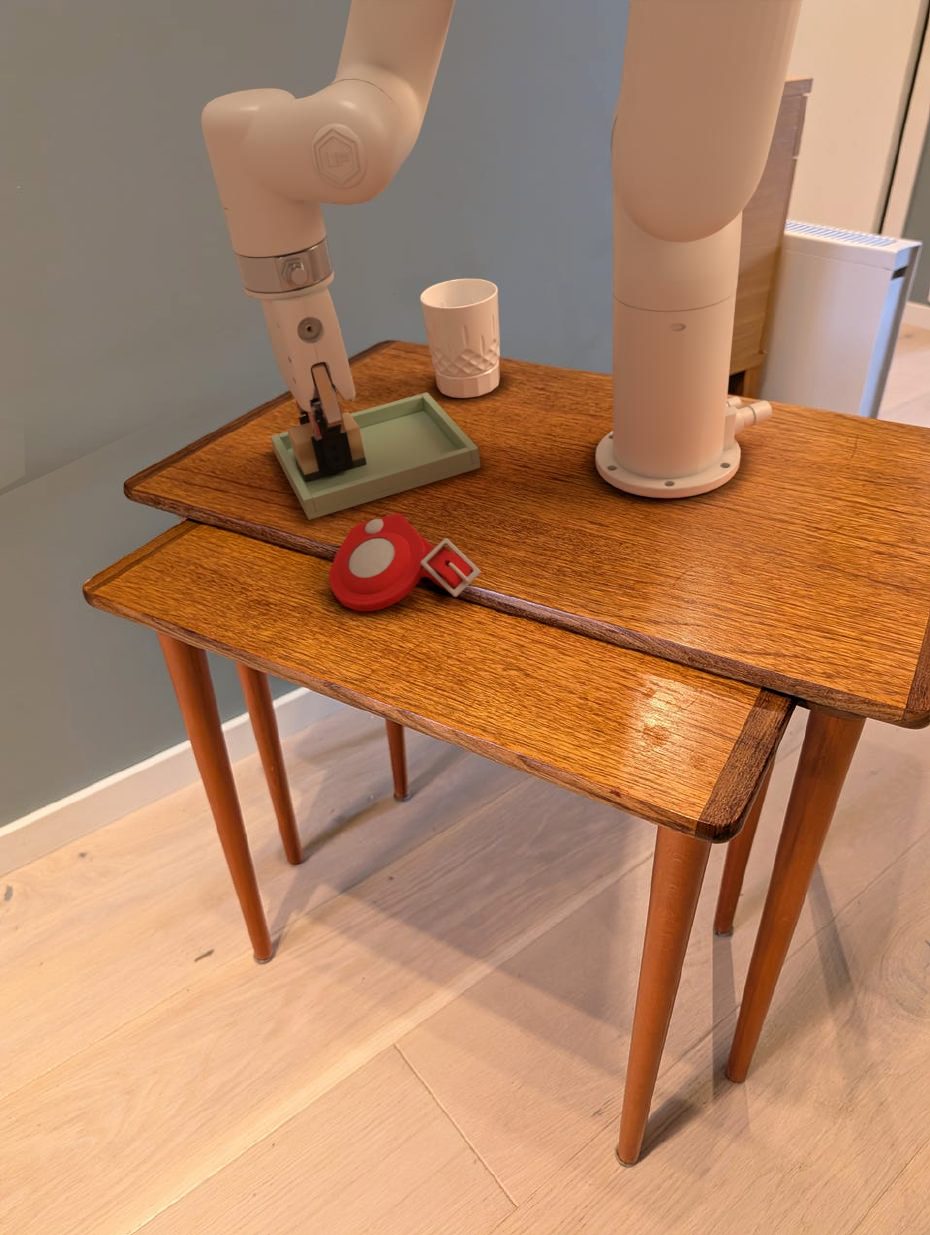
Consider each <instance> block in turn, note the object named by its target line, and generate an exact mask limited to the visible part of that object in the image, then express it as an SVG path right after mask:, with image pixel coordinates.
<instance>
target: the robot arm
mask: <svg viewBox="0 0 930 1235" xmlns="http://www.w3.org/2000/svg"><path fill="white" fill-rule="evenodd" d="M455 3H456V0H351V2H350V9H349V14H348V20H347V25H346V30H345V34H344V38H343V44H342V48H341V53H340V58H339V61H338V65H337V70H336V75H335V78H334V80H333V81H332V82H330V83H329V84H328V85H327V86H326V87H324V88H323V89H320V90H318V91H317V92H315V93H314V94H312V95H309V96H305V97H301V98H296V97H295V96H294V95H293V94H292V93H290V92H289V91H287V90H285V89H280V88H275V87H274V88H273V87H272V88H271V87H270V88H269V87H268V88H255V89H254V88H253V89H246V90H245V89H244V90H240V91H235V92H231V93H227V94H224V95H221V96H218V97H216V98H214V99H212V100H210V101H209V102H207V104H206V105H205V106H204V107H203V109H202V112H201V119H200V122H201V124H200V125H201V130H202V134H203V139H204V142H205V147H206V150H207V155H208V158H209V160H210V161H209V162H210V166H211V169H212V174H213V177H214V182H215V185H216V189H217V192H218V196H219V200H220V204H221V207H222V208H221V209H222V211H223V215H224V218H225V223H226V226H227V231H228V233H229V234H228V235H229V237H230V241H231V246H232V250H233V252H234V257H235V260H236V264H237V269H238V272H239V276H240V280H241V283H242V286H243V291H244V293H245V295H246V296H248V297H250V298H252V299H256V300H259V301H260V303H261V304H260V305H261V307H262V308H261V309H262V313H263V317H264V320H265V324H266V329H267V332H268V336H269V340H270V344H271V347H272V351H273V355H274V358H275V361H276V364H277V368H278V370H279V373H280V376H281V378H282V380H283V382H284V384H285V385H286V387H287V388H288V390H289V392H290V393H291V395H292V397H293V398H294V400H295V404H296V407H297V411H298V413H299V415H300V416H299V417H298V420H299V424H300V425H303V424H306V423H311V427H312V430H313V434H314V436H313V437H311V440H312V444H313V448H314V452H315V456H316V461H317V465H318V469H319V472H320V474H321V476H323V477H326V476H330V475H333V474H336V473H340V472H343V471H347V470H350V469H352V468H353V466H354V464H353V460H352V455H351V450H350V445H349V441H348V436H347V431H346V429H345V425H344V421H343V417H342V413H343V412H342V409H341V405H340V401H339V397H338V394H337V392H338V393H339V394H340V396H341V397H342V399H343V400H344V401H345V402H347V401H350V402H353V401H354V400H355V398H356V396H357V392H356V388H355V384H354V379H353V375H352V372H351V366H350V364H349V359H348V354H347V351H346V346H345V342H344V338H343V334H342V330H341V327H340V322H339V319H338V316H337V313H336V312H337V311H336V309H335V306H334V302H333V299H332V296H331V293H330V291H329V288H328V285H330V284H331V283H332V282H333V281H334V279H335V271H334V266H333V261H332V254H331V250H330V246H329V241H328V236H327V230H326V225H325V221H324V215H323V211H322V205H321V203H322V204H329V205H331V204H332V205H344V206H349V205H350V206H351V205H352V206H353V205H360V204H364V203H366V202H369V201H371V200H374V199H375V198H376V197H378V196H380V195H381V194H382V193H383V192H384V191H385V190H386V189H387V188H388V187H389V185H390V184H391V182H392V181H393V180H394V178H395V176H396V175H397V174H398V172H399V171H400V168H401V167H402V165H403V164H404V163H405V161H406V160H407V159H408V157H409V156H410V155H411V153H412V151H413V149H414V148H415V145H416V143H417V140H418V138H419V135H420V132H421V128H422V126H423V122H424V119H425V116H426V112H427V109H428V105H429V101H430V97H431V95H432V91H433V87H434V83H435V80H436V76H437V72H438V70H439V66H440V63H441V59H442V55H443V51H444V47H445V45H446V44H445V43H446V39H447V36H448V32H449V28H450V23H451V19H452V14H453V11H454V7H455ZM802 4H803V0H629V6H628V15H627V25H626V32H625V33H626V34H625V42H624V51H623V60H622V69H621V70H622V71H621V78H620V89H619V97H618V99H617V101H616V105H615V108H614V112H613V115H612V121H611V128H610V129H611V130H610V159H611V160H610V167H611V180H612V181H611V182H612V188H611V189H612V190H611V192H612V194H611V195H612V196H611V198H612V431H610V432H609V433H607V434H606V435H605V436H603V438H602V439H601V440H600V441H599V442H598V444H597V446H596V448H595V466H596V467H595V468H596V470H597V472H598V474H599V475H600V477H602V479H603V480H604V481H606V482H607V483H608V484H610V485H612V486H613V487H615V488H617V489H619V490H621V491H623V492H625V493H629V494H632V495H636V496H640V497H647V498H653V499H680V498H687V497H694V496H697V495H702V494H705V493H708V492H711V491H713V490H715V489H718V488H719V487H721V486H723V485H724V484H726V483H728V482H729V481H730V480H731V479H732V478H733V477H734V476H736V473H737V472H738V470H739V468H740V463H741V455H742V454H741V452H742V451H741V447H740V445H739V442H738V441H737V439H735V436H737V435H741V433H742V432H743V430H744V429H746V428H749V427H750V428H751V427H754V426H757V425H760V424H764V423H766V422H770V421H771V420H772V418H773V407H772V406H771V404H770V402H768V401H767V400H759V401H756V402H752V403H750V404H747V405H745V406H744V407H743V402H742V400H741V398H740V397H739V396H737V395H735V396H732V397H728V394H729V382H730V369H731V357H732V348H733V347H732V345H733V336H734V335H733V334H734V324H735V323H734V322H735V321H734V320H735V310H736V300H737V289H738V282H739V271H740V259H741V258H740V257H741V246H742V245H741V243H742V230H743V229H742V227H743V226H742V225H743V210H744V209H745V208H746V207H747V205H748V204H749V202H750V201H751V199H752V197H753V196H754V194H755V193H756V190H757V189H758V186H759V184H760V182H761V179H762V177H763V174H764V172H765V168H766V165H767V161H768V157H769V155H770V154H769V153H770V150H771V146H772V143H773V138H774V134H775V129H776V124H777V120H778V115H779V111H780V106H781V102H782V99H783V98H782V97H783V93H784V88H785V84H786V79H787V75H788V69H789V67H790V66H789V65H790V60H791V56H792V51H793V47H794V42H795V37H796V33H797V28H798V23H799V19H800V14H801V9H802ZM318 420H319V422H318Z"/></svg>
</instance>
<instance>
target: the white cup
mask: <svg viewBox="0 0 930 1235" xmlns="http://www.w3.org/2000/svg"><path fill="white" fill-rule="evenodd" d="M419 301H420V306H421V307H420V308H421V312H422V317H423V322H424V323H423V324H424V327H425V333H426V340H427V345H428V349H429V352H430V358H431V362H432V366H433V369H434V374H435V376H434V377H435V379H436V380H435V381H436V387H437V389H438V390H439V392H440V393H441V394H442V395H445V396H447V397H450V398H455V399H456V398H457V399H470V398H476V397H481V396H484V395H487V394H489V393H491V392H492V391H494V390H495V389H496V388H498V386H499V384H500V379H501V373H500V370H501V369H500V358H501V352H500V348H501V343H500V342H501V341H500V339H501V337H500V335H501V334H500V316H499V315H500V313H499V311H500V310H499V288H498V286H497V285H496V284H495V283H494V282H492V281H489V280H486V279H481V278H457V279H450V280H446V281H443V282H439V283H436V284H433V285H431V286H429V287H427V288H426V289H425V290H423V291H422V292H421V294H420V295H419Z"/></svg>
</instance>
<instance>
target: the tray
mask: <svg viewBox="0 0 930 1235" xmlns="http://www.w3.org/2000/svg"><path fill="white" fill-rule="evenodd" d="M349 414H350V415H351V416H352V418H353V419H354V421H355V422H356V423H357V425H358V426H359V428H360V433H361V438H362V443H363V448H364V453H365V458H366V463H367V464H366V465H363V466H360V467H357V468H353V469H350V470H347V471H343V472H340V473H337V474H333V475H330V476H327V477H323V478H320V479H317V480H313V481H310V482H306V481H305V480H304V478H303V476H302V474H301V472H300V471H299V469H298V467H297V465H296V461H295V457H294V453H293V450H292V446H291V442H290V438H289V434H288V430H287V431H283V432H281V433H276V434H272V435H270V441H271V444H272V448H273V451H274V454H275V457H276V459H277V461H278V462H279V465H280V466H281V467H280V468H282V471H283V472H284V474H285V477H286V478H287V480H288V482H289V484H290V486H291V488H292V490H293V492H294V494H295V496H296V497H297V500H298V502H299V504H300V506H301V508H302V510H303V512H304V514H305V516H306V518H307V520H308V521H311V520H314V519H317V518H320V517H323V516H327V515H331V514H333V513H337V512H340V511H343V510H346V509H350V508H353V507H357V506H361V505H363V504H366V503H369V502H372V501H377V500H379V499H383V498H386V497H389V496H393V495H396V494H399V493H402V492H405V491H410V490H413V489H416V488H419V487H422V486H425V485H429V484H431V483H435V482H438V481H441V480H445V479H448V478H451V477H454V476H455V477H456V476H458V475H461V474H465V473H468V472H471V471H475V470H478V469H481V460H480V451H479V447H478V446H477V445H476V444H475V443H474V441H473V440H472V439H470V437H469V436H468V435H467V434H466V433H465V432H464V431H463V430H462V429H461V428H460V426H459V425H458V424H457V423H456V422H455V421H454V420H453V419H452V417H450V415H449V414H448V413H447V411H445V410H444V408H443V407H441V405H440V404H439V403H438V402H437V401H436V400H435V399H434V398H433V397H432V396H431V395H430V393H429V392H427V391H426V392H423V393H419V394H415V395H412V396H409V397H404V398H401V399H398V400H394V401H391V402H387V403H383V404H380V405H376V406H373V407H369V408H367V409H363V410H359V411H356V412H355V411H354V412H352V413H349Z"/></svg>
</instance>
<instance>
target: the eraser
mask: <svg viewBox="0 0 930 1235" xmlns="http://www.w3.org/2000/svg"><path fill="white" fill-rule="evenodd" d="M341 413H342V417H343V421H344V425H345V429H346V431H347V436H348V441H349V445H350V450H351V455H352V460H353V464H354V466H353V468H357V467H360V466H363V465H366V464H367V463H366V458H365V453H364V448H363V443H362V438H361V433H360V428H359V426H358V425H357V423H356V422H355V421H354V419H353V418H352V416H351V415H350V414H351V413H350V412H349V411H345V412H341ZM318 422H319V420H318ZM286 430H287V431H288V434H289V438H290V442H291V446H292V450H293V453H294V457H295V461H296V465H297V467H298V469H299V471H300V472H301V474H302V476H303V478H304V480H305V481H306V482H310V481H313V480H317V479H320V478H323V476H321V474H320V472H319V469H318V465H317V461H316V456H315V452H314V448H313V444H312V440H311V437H313V436H314V434H313V430H312V427H311V423H306V424H303V425H296V426H293V427H289V428H287V429H286ZM353 468H352V469H353ZM336 474H337V473H336ZM326 477H327V476H326Z"/></svg>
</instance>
